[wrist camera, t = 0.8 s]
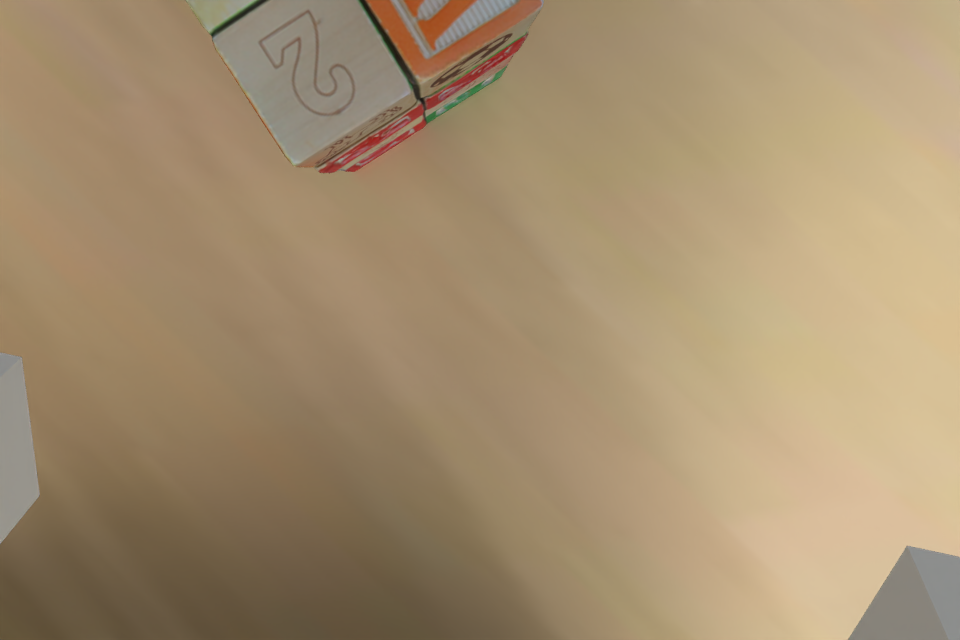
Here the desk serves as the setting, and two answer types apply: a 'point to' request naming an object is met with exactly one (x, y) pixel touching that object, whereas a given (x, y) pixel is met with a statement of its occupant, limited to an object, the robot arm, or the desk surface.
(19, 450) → the robot arm
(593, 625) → the desk surface
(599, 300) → the desk surface
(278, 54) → the stack of blocks
